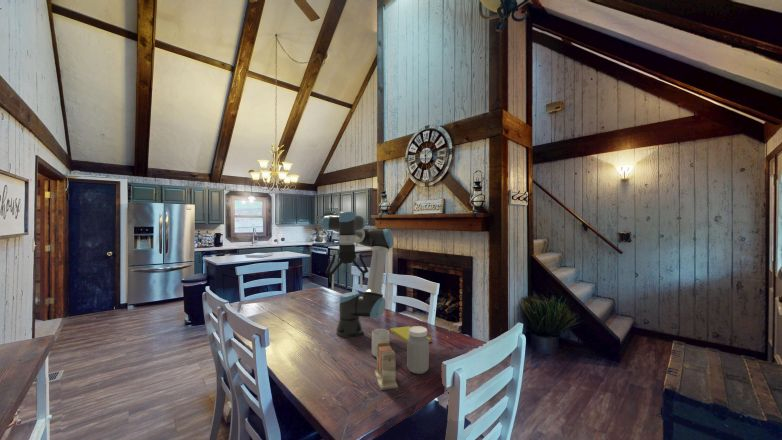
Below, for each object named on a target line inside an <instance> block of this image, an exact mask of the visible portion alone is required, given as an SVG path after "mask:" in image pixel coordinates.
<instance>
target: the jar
mask: <svg viewBox="0 0 782 440" xmlns="http://www.w3.org/2000/svg"><path fill="white" fill-rule="evenodd" d="M427 337H428V329H427V327H424V326H422V325H416V326H415V325H413V326H410V328H409V337H408V339H407V342H406V368H407V369H408V370H409V372H410V373H413V374H416V375H421V374H425V373H426V372H428V370H429V366H430V364H429V363H430V361H429V360H430V356H429V355H430V342H429V340H428V338H427Z"/></svg>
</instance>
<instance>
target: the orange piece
mask: <svg viewBox="0 0 782 440" xmlns="http://www.w3.org/2000/svg"><path fill="white" fill-rule="evenodd" d="M384 351H394V350H393V348H392V346H391V345H389V346H384V347H379V370H380V373H382V352H384Z"/></svg>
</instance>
